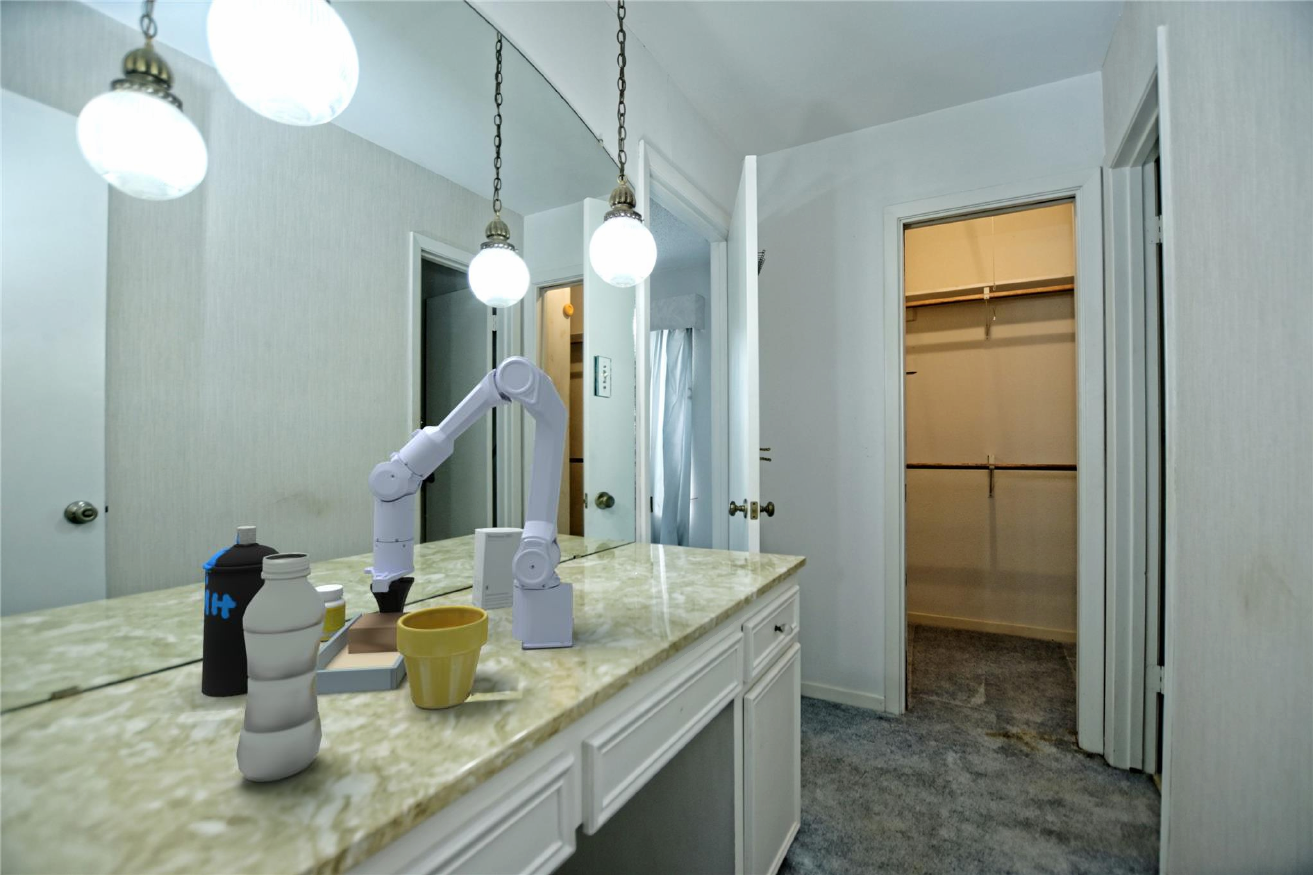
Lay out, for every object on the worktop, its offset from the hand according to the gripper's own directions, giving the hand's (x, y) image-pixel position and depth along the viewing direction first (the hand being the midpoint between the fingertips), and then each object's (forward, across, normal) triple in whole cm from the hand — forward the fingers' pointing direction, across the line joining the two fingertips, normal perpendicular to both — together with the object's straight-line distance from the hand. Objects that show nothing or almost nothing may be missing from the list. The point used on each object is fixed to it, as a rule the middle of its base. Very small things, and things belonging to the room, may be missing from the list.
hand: (391, 626), depth 87 cm
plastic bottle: (+2, +36, -1) cm, 36 cm away
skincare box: (+2, -15, +15) cm, 21 cm away
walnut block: (+1, +5, 0) cm, 5 cm away
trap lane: (+2, +9, +3) cm, 10 cm away
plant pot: (+2, +22, +11) cm, 24 cm away
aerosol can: (+2, +16, -13) cm, 21 cm away
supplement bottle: (+2, 0, -9) cm, 9 cm away
